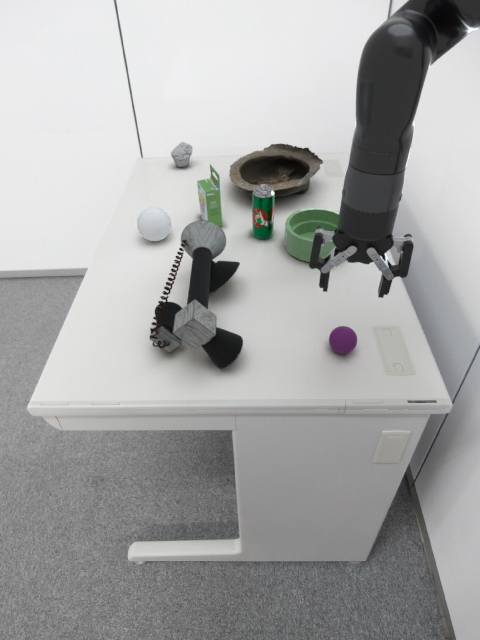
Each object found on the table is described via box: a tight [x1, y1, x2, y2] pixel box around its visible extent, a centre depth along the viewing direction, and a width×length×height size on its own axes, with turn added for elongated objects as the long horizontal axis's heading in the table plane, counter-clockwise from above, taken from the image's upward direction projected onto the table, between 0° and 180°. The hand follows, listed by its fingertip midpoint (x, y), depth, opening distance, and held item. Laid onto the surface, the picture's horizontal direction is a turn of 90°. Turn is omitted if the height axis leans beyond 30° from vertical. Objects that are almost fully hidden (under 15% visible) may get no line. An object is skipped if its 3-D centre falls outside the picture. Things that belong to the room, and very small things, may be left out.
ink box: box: [196, 163, 223, 228], centre depth 107 cm, size 7×4×13 cm, turn 20°
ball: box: [136, 206, 172, 242], centre depth 104 cm, size 8×8×8 cm
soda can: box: [251, 184, 276, 240], centre depth 102 cm, size 5×5×12 cm
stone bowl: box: [228, 143, 324, 198], centre depth 120 cm, size 25×25×9 cm
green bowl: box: [283, 207, 340, 263], centre depth 100 cm, size 15×15×6 cm
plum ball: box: [328, 325, 358, 355], centre depth 77 cm, size 5×5×5 cm
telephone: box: [149, 219, 244, 369], centre depth 82 cm, size 15×13×30 cm
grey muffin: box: [170, 141, 193, 168], centre depth 134 cm, size 6×7×7 cm
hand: (352, 291), depth 69 cm, fingers open, 8 cm apart
